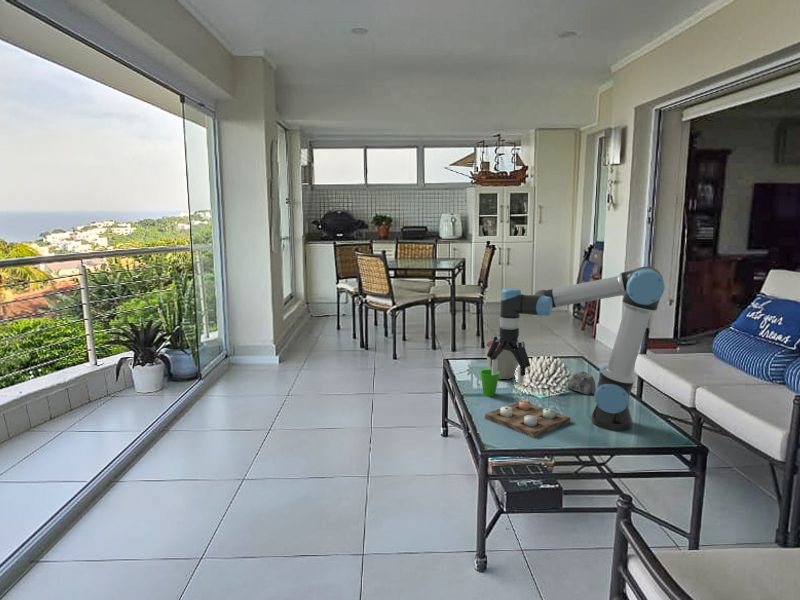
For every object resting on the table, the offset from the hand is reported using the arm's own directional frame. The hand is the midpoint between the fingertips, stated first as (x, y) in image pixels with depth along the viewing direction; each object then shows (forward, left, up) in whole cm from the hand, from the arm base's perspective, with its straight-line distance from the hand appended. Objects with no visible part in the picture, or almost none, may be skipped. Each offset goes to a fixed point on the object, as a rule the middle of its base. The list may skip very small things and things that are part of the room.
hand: (507, 378), depth 219 cm
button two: (-13, -11, -15) cm, 23 cm away
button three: (-1, -12, -15) cm, 19 cm away
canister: (+38, -42, -17) cm, 59 cm away
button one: (-1, 0, -15) cm, 15 cm away
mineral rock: (0, -55, -17) cm, 57 cm away
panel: (-7, -5, -17) cm, 19 cm away
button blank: (-13, 0, -15) cm, 20 cm away
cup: (+23, -17, -17) cm, 33 cm away
